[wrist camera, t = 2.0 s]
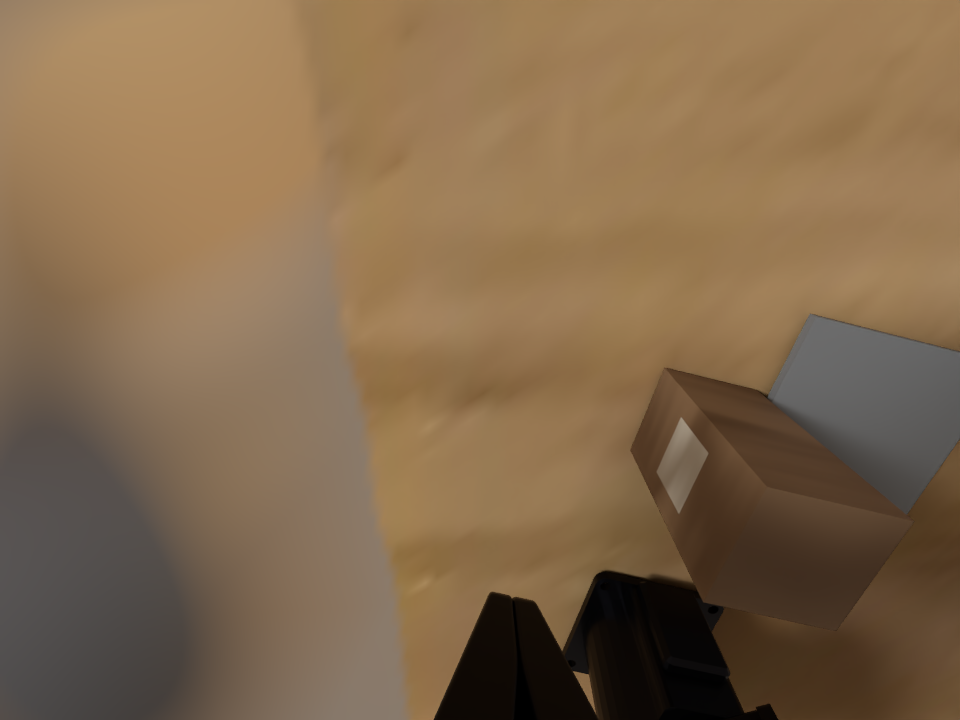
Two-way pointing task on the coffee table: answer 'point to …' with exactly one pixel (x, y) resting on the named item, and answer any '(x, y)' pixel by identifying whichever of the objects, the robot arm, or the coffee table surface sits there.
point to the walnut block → (761, 503)
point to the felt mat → (874, 402)
